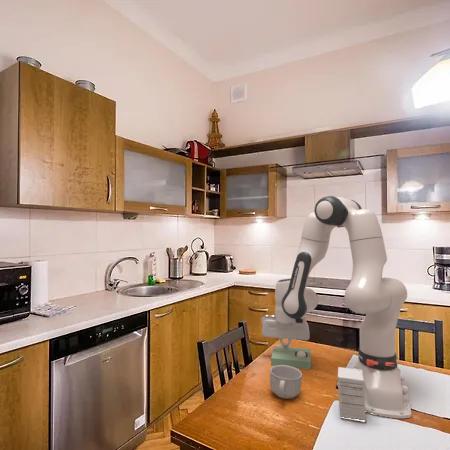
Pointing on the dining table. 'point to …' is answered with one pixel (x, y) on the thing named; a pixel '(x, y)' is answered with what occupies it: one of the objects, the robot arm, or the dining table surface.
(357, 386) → the supplement box
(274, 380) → the teacup
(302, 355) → the ball
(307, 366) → the putting deck
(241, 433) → the dining table surface
